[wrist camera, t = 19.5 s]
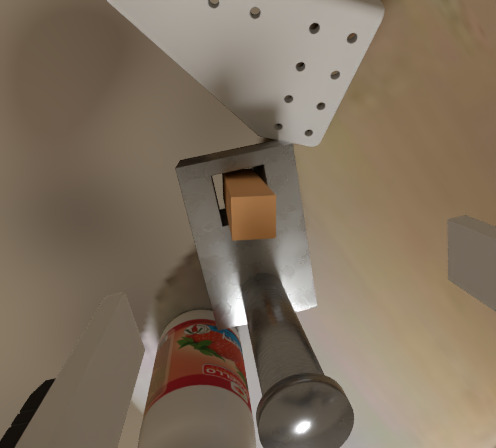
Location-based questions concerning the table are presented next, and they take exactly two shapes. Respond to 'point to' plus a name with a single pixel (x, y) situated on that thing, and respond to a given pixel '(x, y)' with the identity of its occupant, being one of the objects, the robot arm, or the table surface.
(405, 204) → the table surface
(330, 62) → the bracket
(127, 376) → the robot arm
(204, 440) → the fruit juice
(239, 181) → the tan wooden beam
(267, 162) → the grey post stand
